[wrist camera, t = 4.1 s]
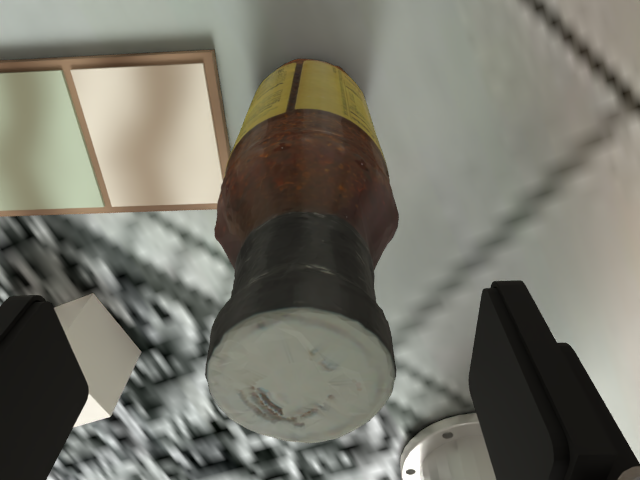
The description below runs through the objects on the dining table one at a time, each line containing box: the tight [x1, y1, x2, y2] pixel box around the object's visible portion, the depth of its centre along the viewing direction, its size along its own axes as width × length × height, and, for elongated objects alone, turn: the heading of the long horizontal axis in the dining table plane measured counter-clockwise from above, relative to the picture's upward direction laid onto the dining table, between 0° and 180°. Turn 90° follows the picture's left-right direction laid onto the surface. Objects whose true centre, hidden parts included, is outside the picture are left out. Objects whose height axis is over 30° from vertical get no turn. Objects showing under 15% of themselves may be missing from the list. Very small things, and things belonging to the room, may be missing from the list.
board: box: [0, 50, 231, 216], centre depth 28 cm, size 23×9×1 cm, turn 93°
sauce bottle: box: [205, 59, 399, 443], centre depth 19 cm, size 7×6×20 cm
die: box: [54, 293, 141, 427], centre depth 34 cm, size 6×6×6 cm
